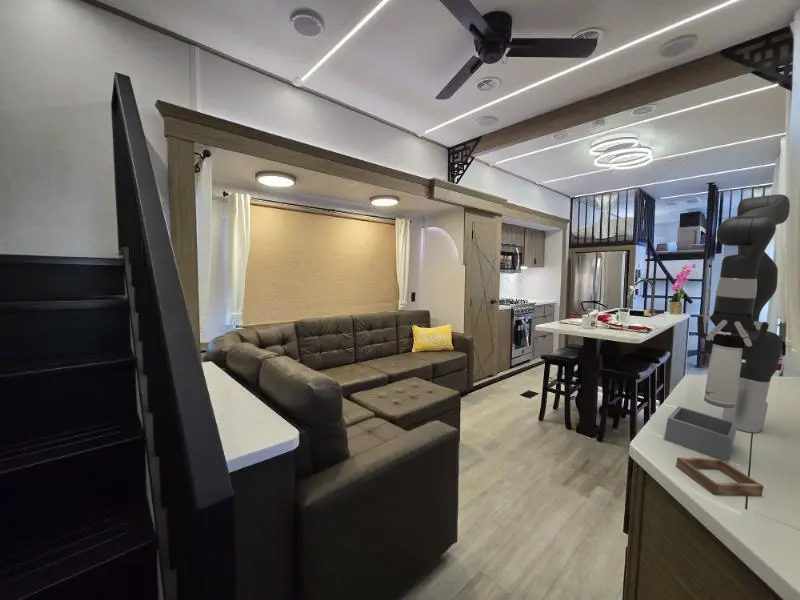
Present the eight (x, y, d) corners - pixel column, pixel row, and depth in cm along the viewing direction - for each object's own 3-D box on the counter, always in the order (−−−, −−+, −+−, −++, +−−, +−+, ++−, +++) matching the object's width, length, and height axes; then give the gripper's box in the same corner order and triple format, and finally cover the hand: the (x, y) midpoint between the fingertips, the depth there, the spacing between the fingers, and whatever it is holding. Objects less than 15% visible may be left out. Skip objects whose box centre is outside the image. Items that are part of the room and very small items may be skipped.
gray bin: (674, 426, 112) (678, 405, 111) (733, 445, 102) (737, 423, 101) (664, 439, 103) (667, 417, 102) (727, 462, 93) (732, 438, 92)
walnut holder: (718, 467, 90) (719, 458, 90) (761, 495, 80) (763, 486, 79) (675, 466, 90) (677, 457, 89) (713, 494, 79) (715, 484, 79)
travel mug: (703, 403, 94) (713, 333, 91) (704, 396, 99) (714, 329, 96) (734, 411, 90) (746, 337, 87) (734, 403, 95) (745, 333, 92)
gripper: (774, 296, 88) (764, 359, 90) (701, 291, 98) (693, 348, 100) (775, 299, 83) (764, 365, 85) (697, 293, 93) (689, 353, 95)
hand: (725, 356), depth 93 cm, fingers closed on travel mug, 6 cm apart
